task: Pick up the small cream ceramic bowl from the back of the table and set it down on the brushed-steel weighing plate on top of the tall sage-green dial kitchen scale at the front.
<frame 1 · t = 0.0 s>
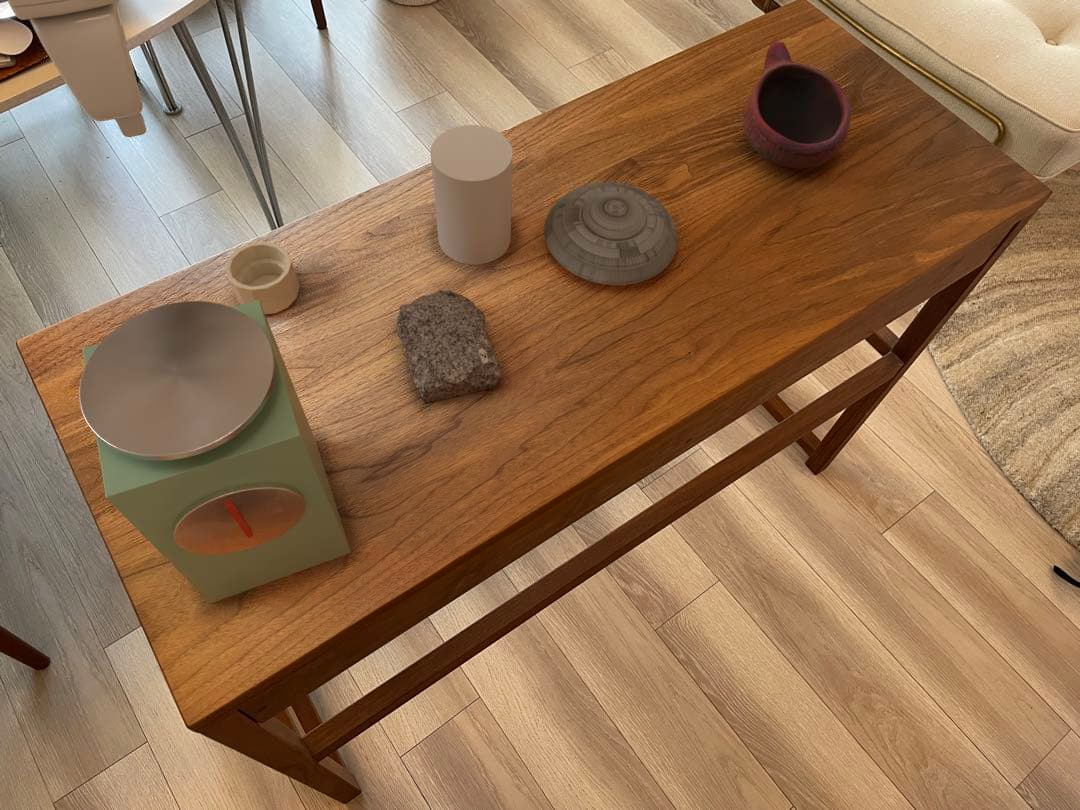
hand: (126, 94, 66), 22 cm above the table, tool pointing down, fingers open, 8 cm apart
flying saucer: (609, 243, 90), on the table
taupe round pillar: (474, 238, 89), on the table
bowl: (774, 142, 100), on the table
scale: (178, 373, 51), on the table
small bowl: (269, 293, 84), on the table
stone: (448, 354, 81), on the table
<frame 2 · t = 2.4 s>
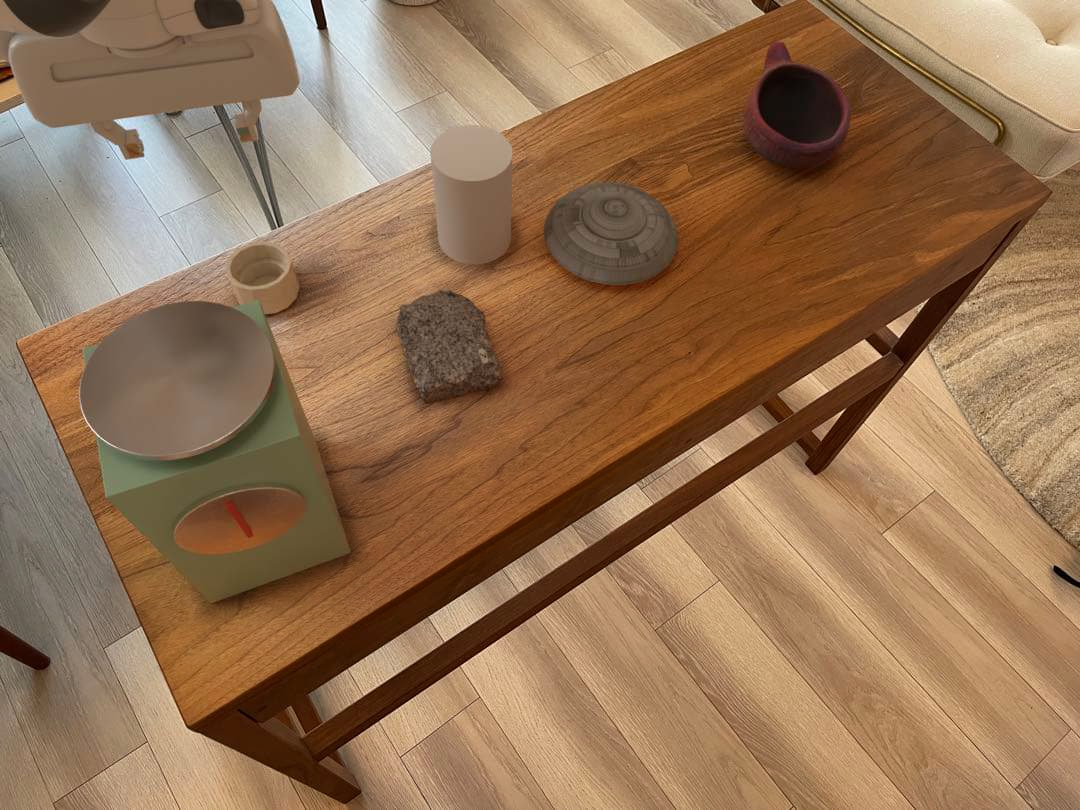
hand: (193, 145, 68), 19 cm above the table, tool pointing down, fingers open, 8 cm apart
nothing on the table moved.
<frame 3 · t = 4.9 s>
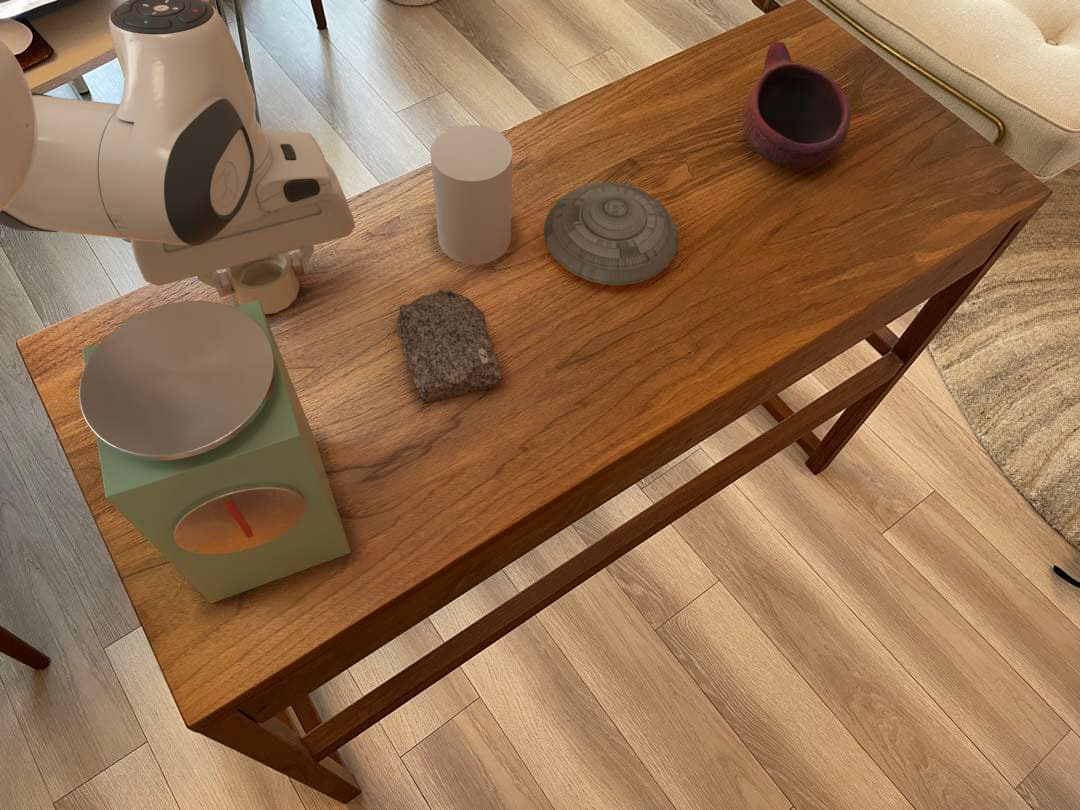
hand: (264, 280, 82), 2 cm above the table, tool pointing down, fingers closed on small bowl, 6 cm apart
small bowl: (269, 293, 84), on the table, touching gripper
everything else where it was.
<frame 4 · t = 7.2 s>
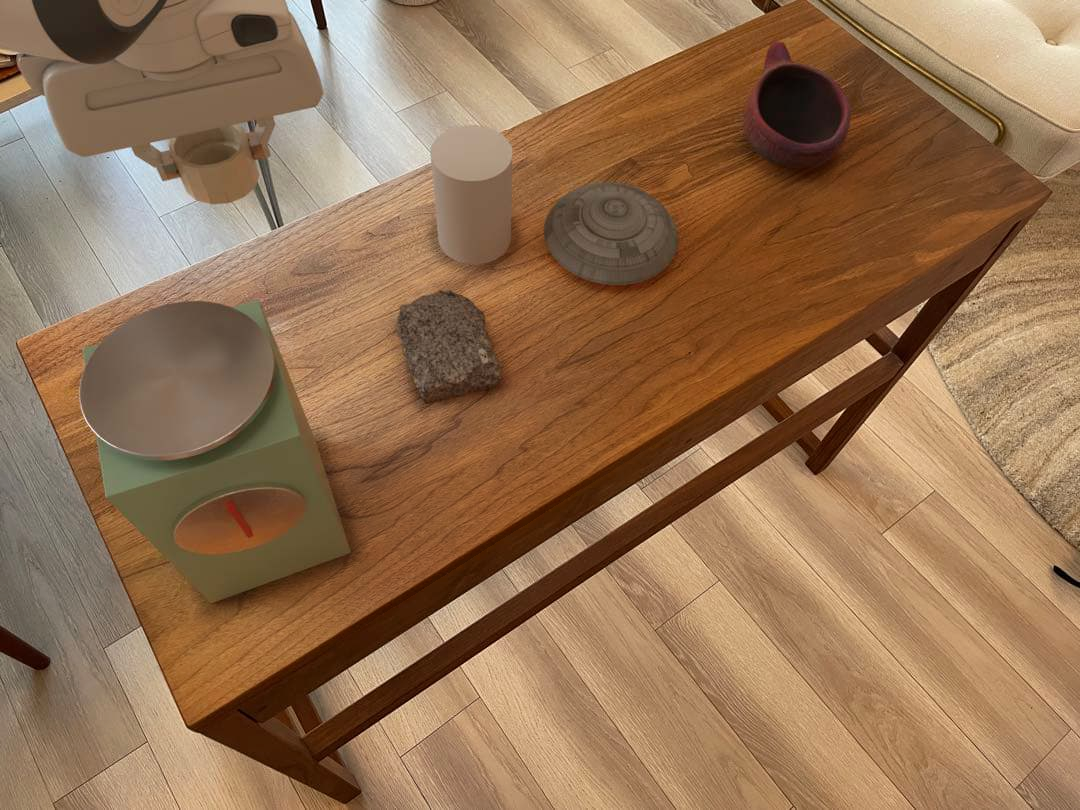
hand: (217, 164, 69), 17 cm above the table, tool pointing down, fingers closed on small bowl, 6 cm apart
small bowl: (223, 183, 71), point 15 cm above the table, touching gripper
everything else where it was.
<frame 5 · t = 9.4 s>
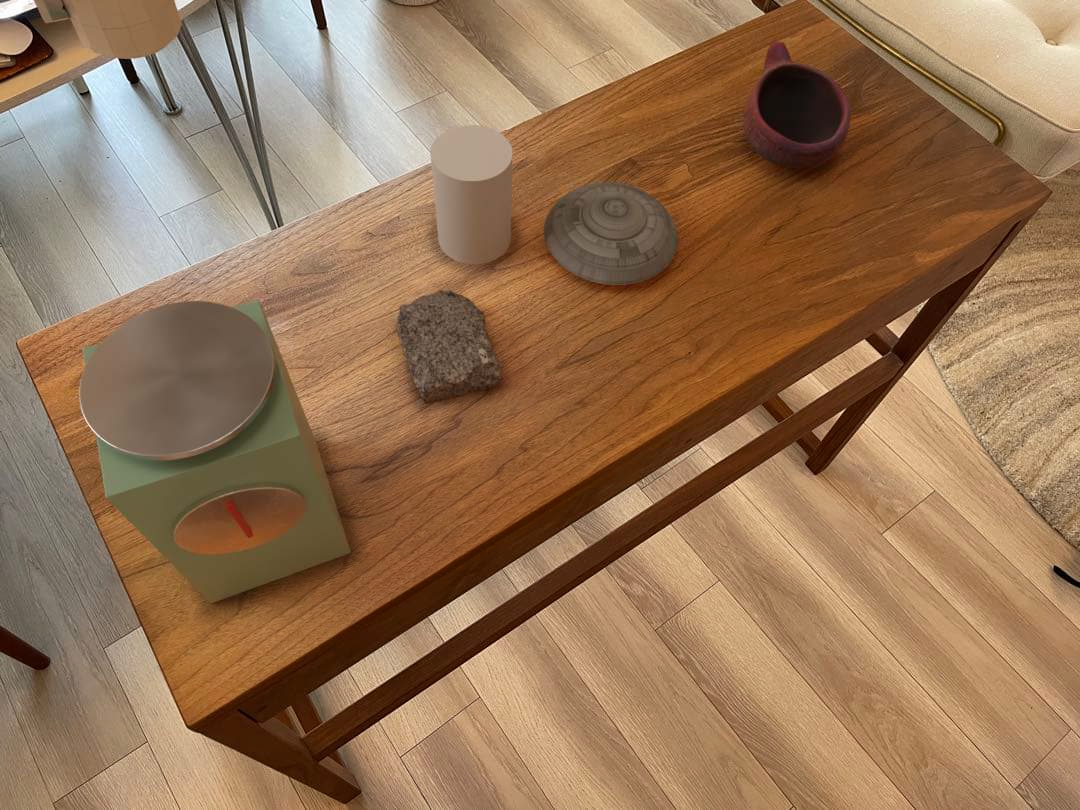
hand: (122, 4, 51), 35 cm above the table, tool pointing down, fingers closed on small bowl, 6 cm apart
small bowl: (133, 34, 53), point 33 cm above the table, touching gripper
everything else where it was.
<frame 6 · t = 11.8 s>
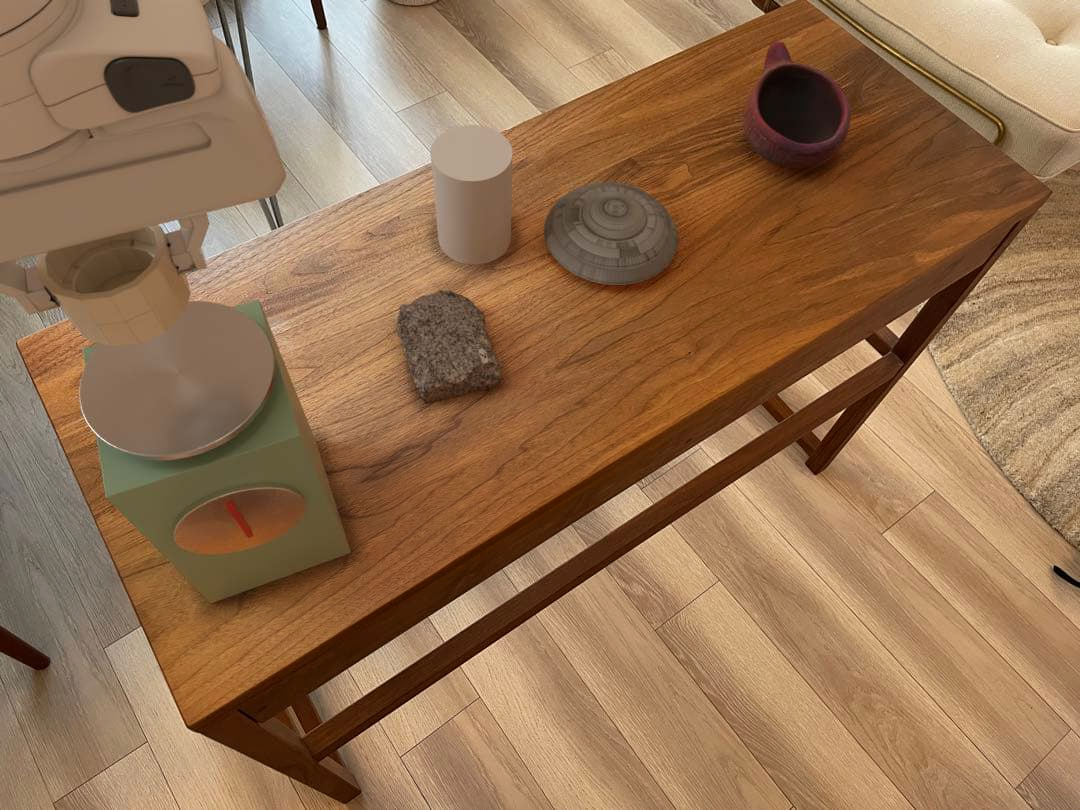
hand: (121, 282, 43), 32 cm above the table, tool pointing down, fingers closed on small bowl, 6 cm apart
small bowl: (135, 306, 45), point 30 cm above the table, touching gripper
everything else where it was.
when the fingers open (25 cm above the table, at t = 14.0 s): small bowl stays where it is, resting on scale.
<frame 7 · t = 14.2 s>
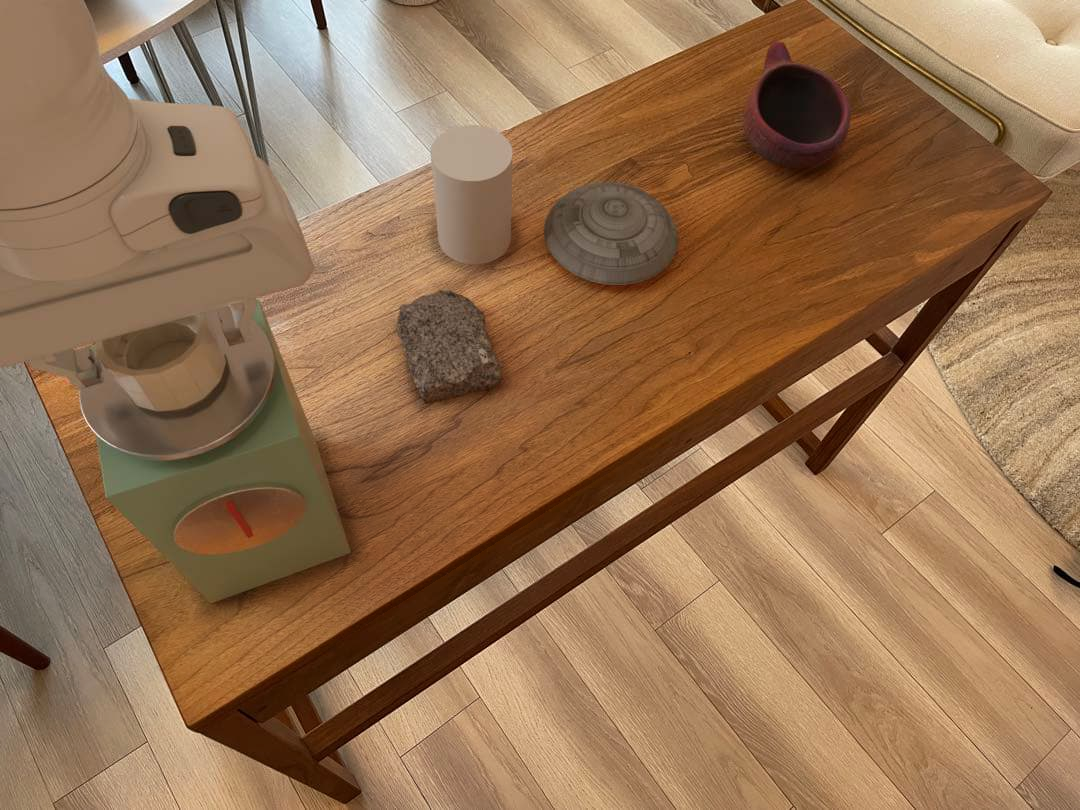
hand: (166, 356, 49), 25 cm above the table, tool pointing down, fingers open, 8 cm apart
small bowl: (176, 373, 51), point 23 cm above the table, touching scale
everything else where it was.
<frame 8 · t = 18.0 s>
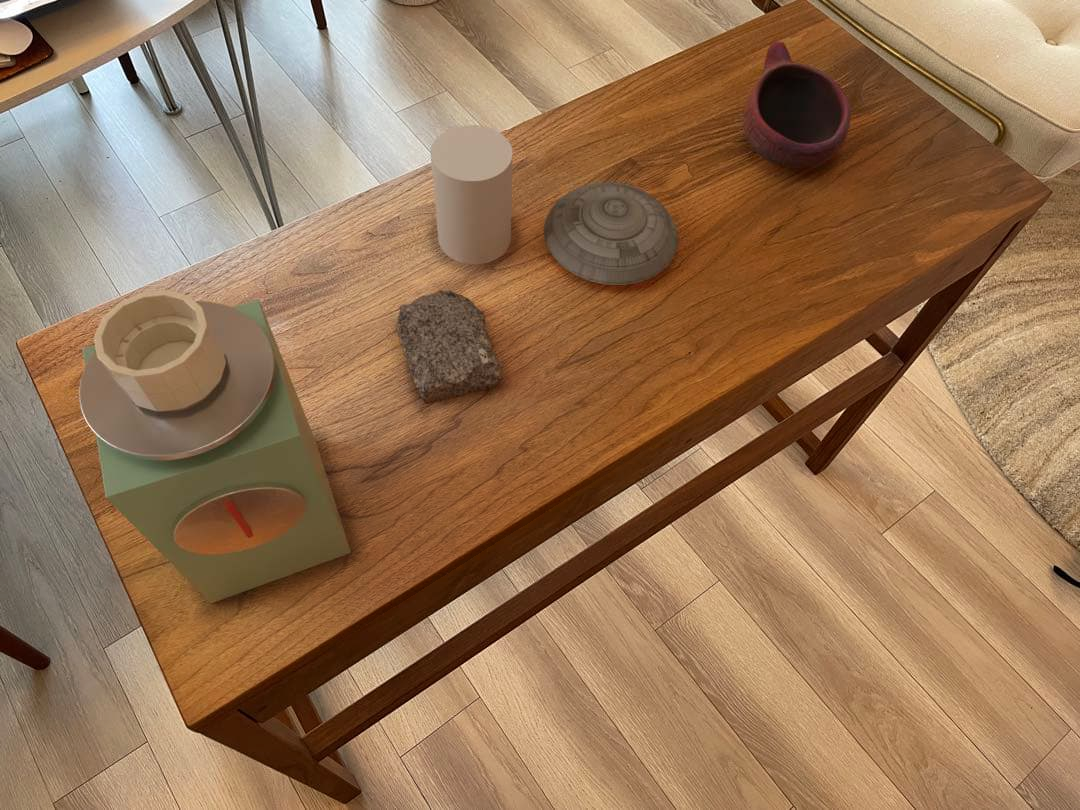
nothing on the table moved.
at the end: small bowl inside the target area on the scale (0.1 cm from its centre), point 0.0 cm above the scale's base; small bowl tilted 0°; the gripper is holding nothing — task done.
